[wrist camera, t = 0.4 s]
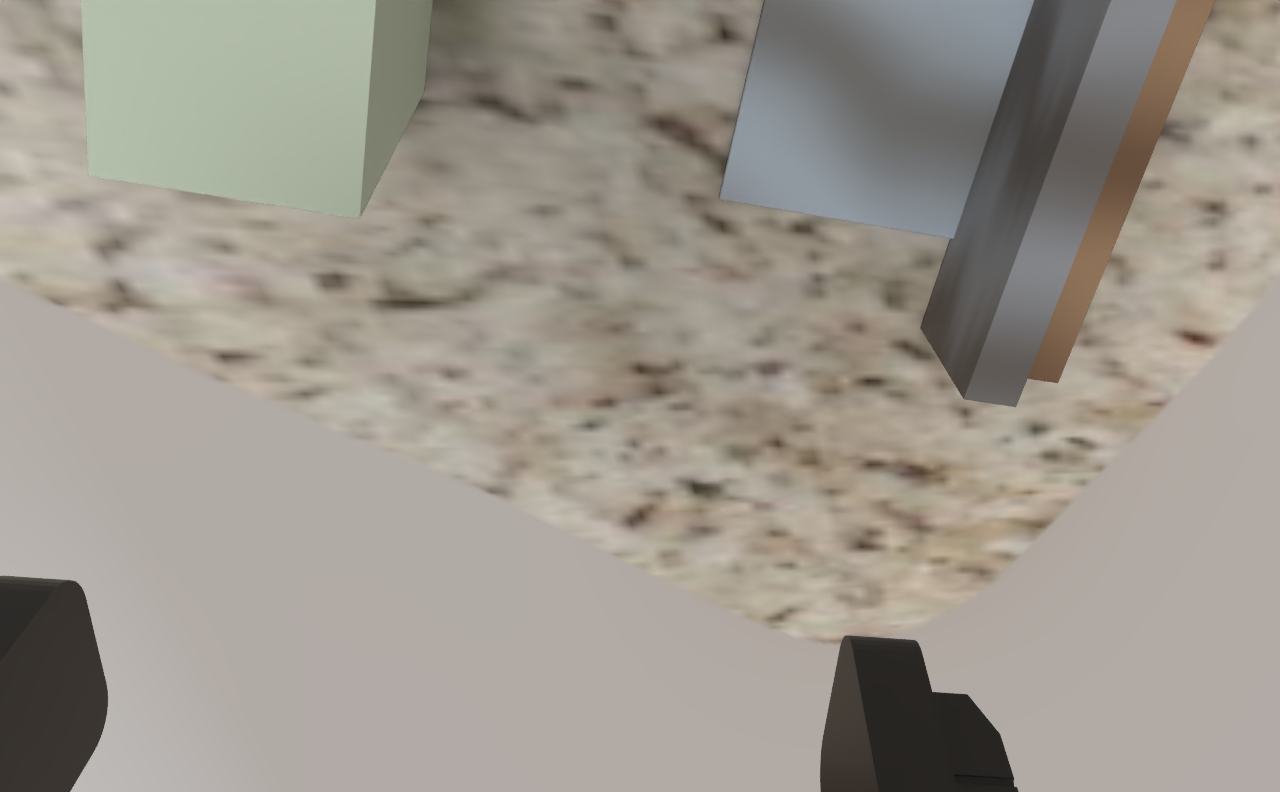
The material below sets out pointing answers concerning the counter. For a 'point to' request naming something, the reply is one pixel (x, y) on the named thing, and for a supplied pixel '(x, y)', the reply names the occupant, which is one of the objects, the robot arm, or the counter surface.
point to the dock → (969, 149)
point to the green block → (253, 95)
